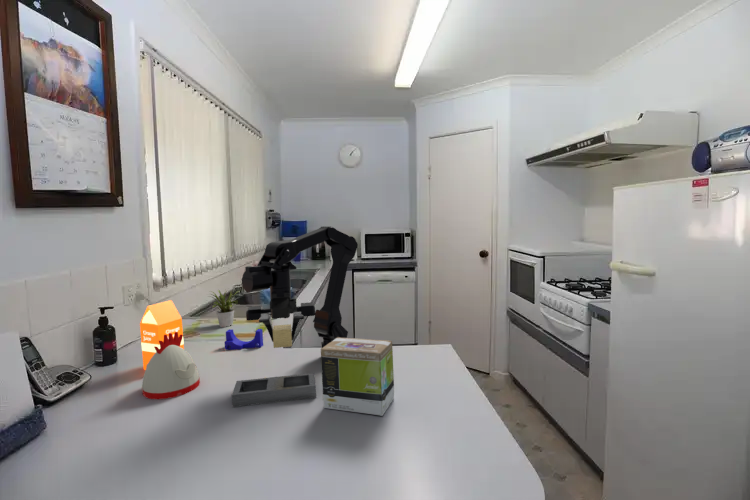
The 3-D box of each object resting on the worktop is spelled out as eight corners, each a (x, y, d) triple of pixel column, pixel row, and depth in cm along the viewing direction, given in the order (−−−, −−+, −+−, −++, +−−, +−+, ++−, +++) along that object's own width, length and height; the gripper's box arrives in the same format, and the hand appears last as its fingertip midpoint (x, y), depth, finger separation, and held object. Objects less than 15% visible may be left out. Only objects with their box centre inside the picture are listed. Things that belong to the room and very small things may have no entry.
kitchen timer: (210, 381, 113) (207, 329, 112) (167, 403, 101) (162, 344, 99) (176, 374, 119) (172, 324, 118) (130, 394, 107) (126, 338, 105)
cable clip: (224, 350, 140) (223, 333, 139) (229, 345, 144) (228, 329, 144) (259, 349, 140) (258, 332, 139) (263, 345, 144) (262, 328, 144)
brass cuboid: (292, 340, 119) (291, 324, 118) (291, 346, 114) (291, 328, 113) (274, 342, 118) (273, 325, 117) (273, 347, 113) (272, 330, 112)
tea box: (395, 398, 100) (393, 339, 98) (382, 417, 90) (380, 353, 89) (339, 391, 105) (337, 335, 103) (321, 409, 95) (319, 347, 94)
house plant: (197, 330, 165) (194, 290, 164) (216, 321, 179) (213, 284, 177) (230, 330, 163) (227, 290, 161) (246, 321, 177) (244, 284, 175)
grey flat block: (314, 383, 110) (314, 372, 109) (316, 397, 101) (315, 385, 101) (237, 392, 106) (236, 380, 105) (232, 407, 97) (231, 395, 97)
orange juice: (143, 369, 123) (137, 305, 122) (167, 359, 132) (162, 299, 130) (161, 372, 120) (156, 306, 119) (185, 362, 129) (181, 300, 127)
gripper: (242, 294, 104) (245, 353, 106) (315, 289, 108) (317, 346, 109) (247, 286, 115) (250, 340, 117) (313, 283, 119) (315, 334, 120)
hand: (282, 340), depth 116 cm, fingers closed on brass cuboid, 5 cm apart
